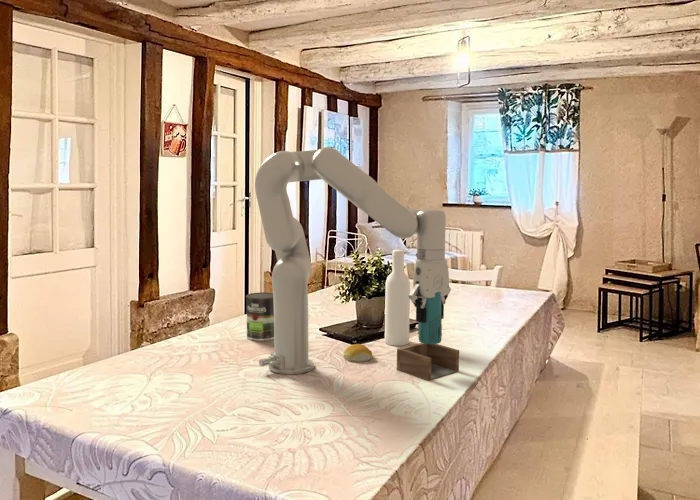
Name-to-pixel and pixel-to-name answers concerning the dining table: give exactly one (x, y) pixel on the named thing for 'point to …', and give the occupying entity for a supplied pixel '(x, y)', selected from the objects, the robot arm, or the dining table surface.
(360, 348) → the bread roll
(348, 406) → the dining table surface
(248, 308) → the coffee can
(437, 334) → the beverage bottle
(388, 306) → the bottle
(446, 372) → the u rest
